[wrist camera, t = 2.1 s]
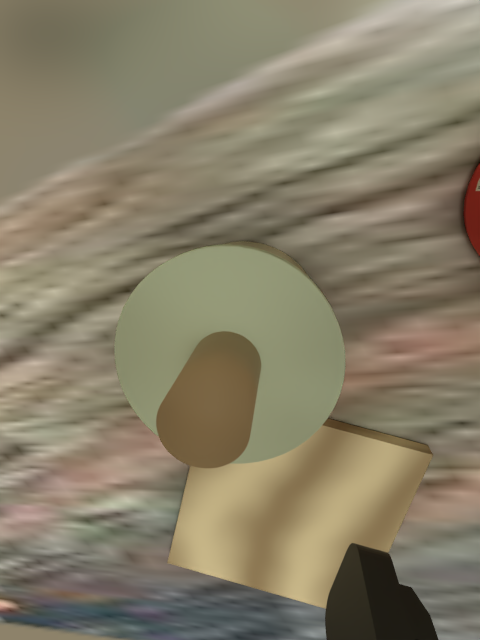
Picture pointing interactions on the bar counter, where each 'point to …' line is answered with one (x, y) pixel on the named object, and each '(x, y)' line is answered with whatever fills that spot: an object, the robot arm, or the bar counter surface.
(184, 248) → the bar counter surface
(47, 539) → the bar counter surface
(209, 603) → the bar counter surface
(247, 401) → the lid
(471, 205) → the canned food
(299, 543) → the mat
